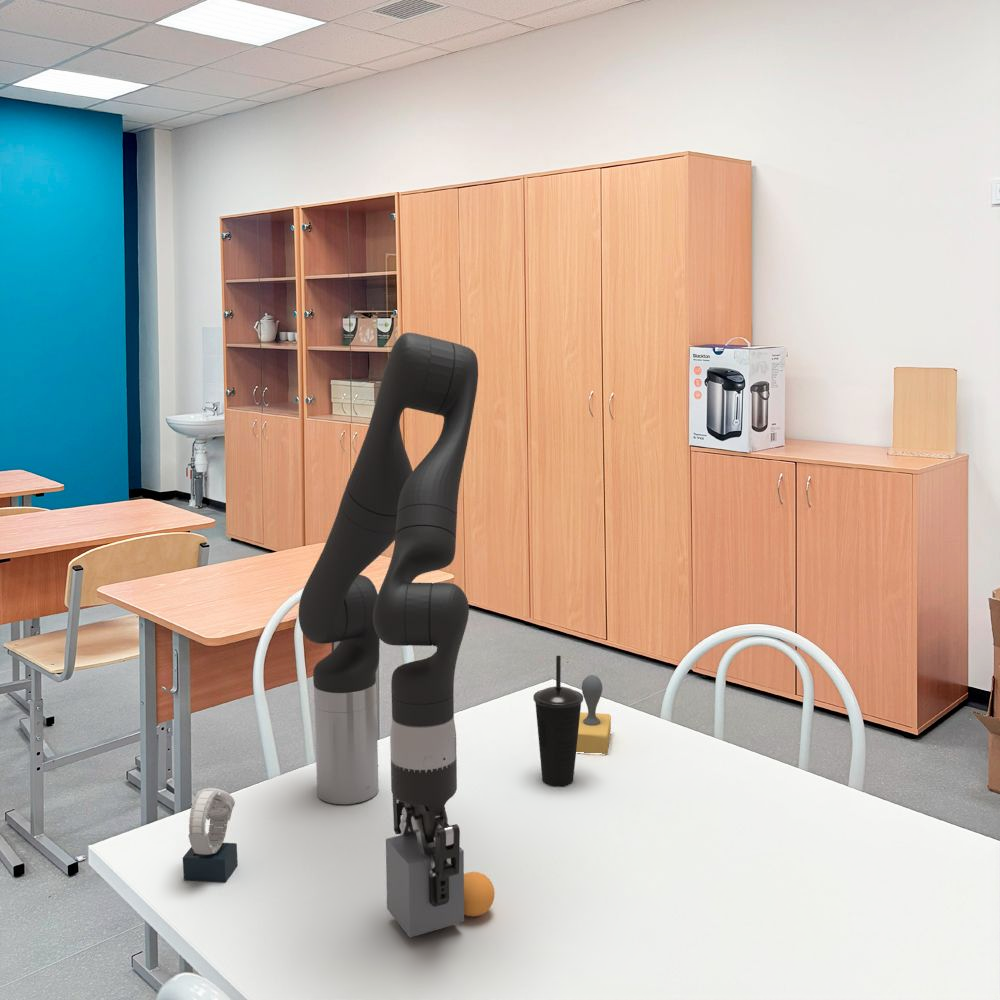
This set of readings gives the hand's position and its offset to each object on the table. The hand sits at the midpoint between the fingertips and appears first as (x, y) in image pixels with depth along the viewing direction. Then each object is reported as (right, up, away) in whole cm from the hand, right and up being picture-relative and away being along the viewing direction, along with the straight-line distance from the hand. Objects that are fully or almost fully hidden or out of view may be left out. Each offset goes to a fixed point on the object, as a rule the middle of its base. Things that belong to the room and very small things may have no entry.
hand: (425, 888), depth 122 cm
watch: (-29, -3, +13) cm, 32 cm away
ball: (+5, -2, +3) cm, 6 cm away
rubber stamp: (+24, +4, +56) cm, 61 cm away
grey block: (0, -3, 0) cm, 3 cm away
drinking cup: (+18, +2, +41) cm, 44 cm away
